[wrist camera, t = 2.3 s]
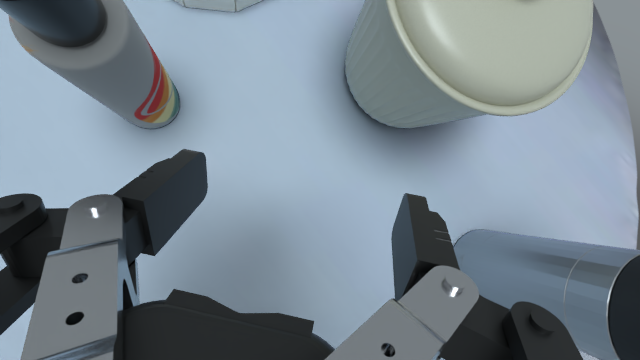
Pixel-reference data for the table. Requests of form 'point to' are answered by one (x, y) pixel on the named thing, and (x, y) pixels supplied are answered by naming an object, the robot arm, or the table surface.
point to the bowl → (218, 4)
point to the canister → (464, 57)
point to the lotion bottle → (98, 54)
